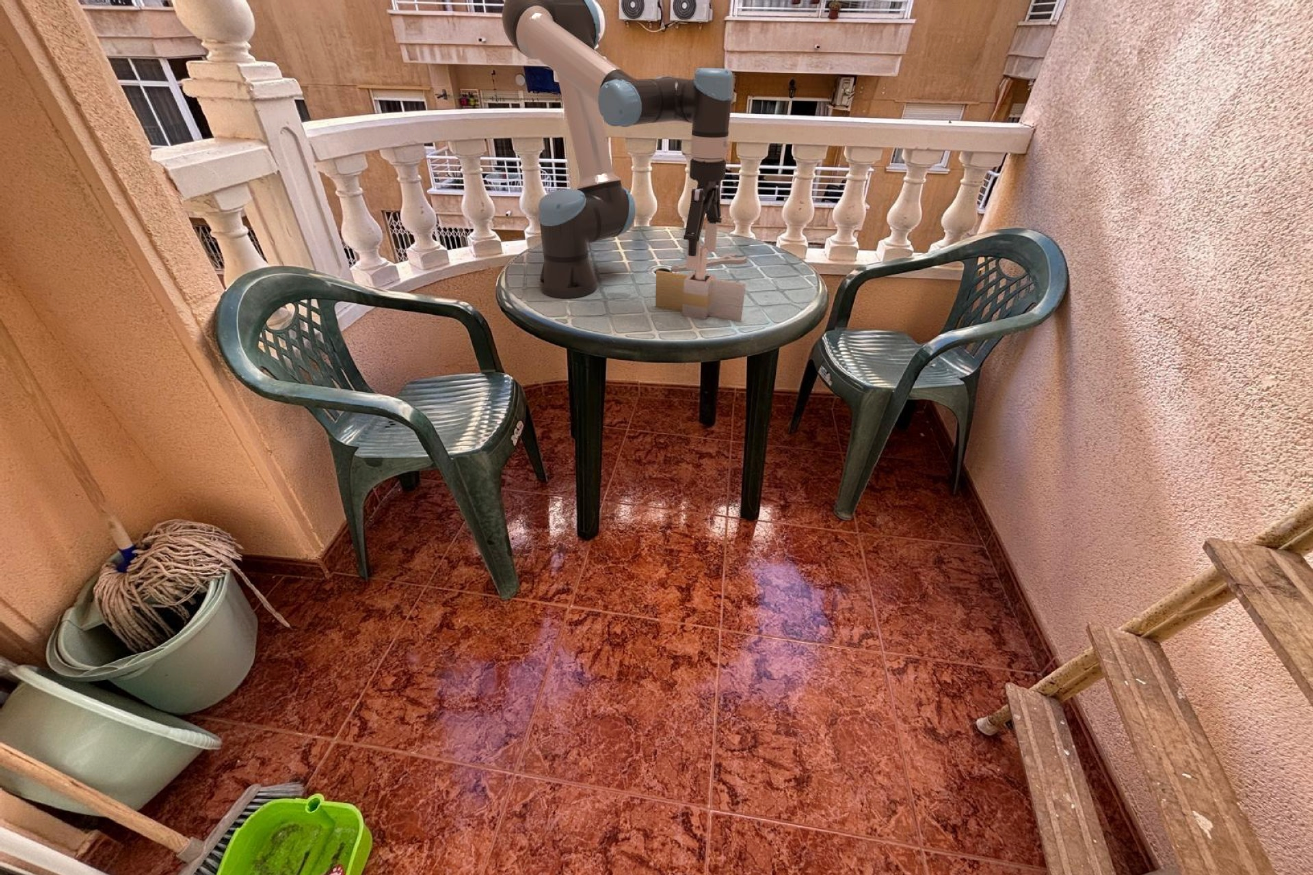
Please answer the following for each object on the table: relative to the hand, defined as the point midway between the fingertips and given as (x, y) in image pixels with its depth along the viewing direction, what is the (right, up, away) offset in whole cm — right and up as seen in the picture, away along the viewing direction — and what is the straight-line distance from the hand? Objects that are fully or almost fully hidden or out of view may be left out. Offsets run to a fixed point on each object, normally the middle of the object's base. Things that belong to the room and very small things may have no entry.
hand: (701, 260), depth 124 cm
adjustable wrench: (+5, +10, +37) cm, 39 cm away
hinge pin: (0, -10, +8) cm, 13 cm away
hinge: (0, -10, +8) cm, 13 cm away
